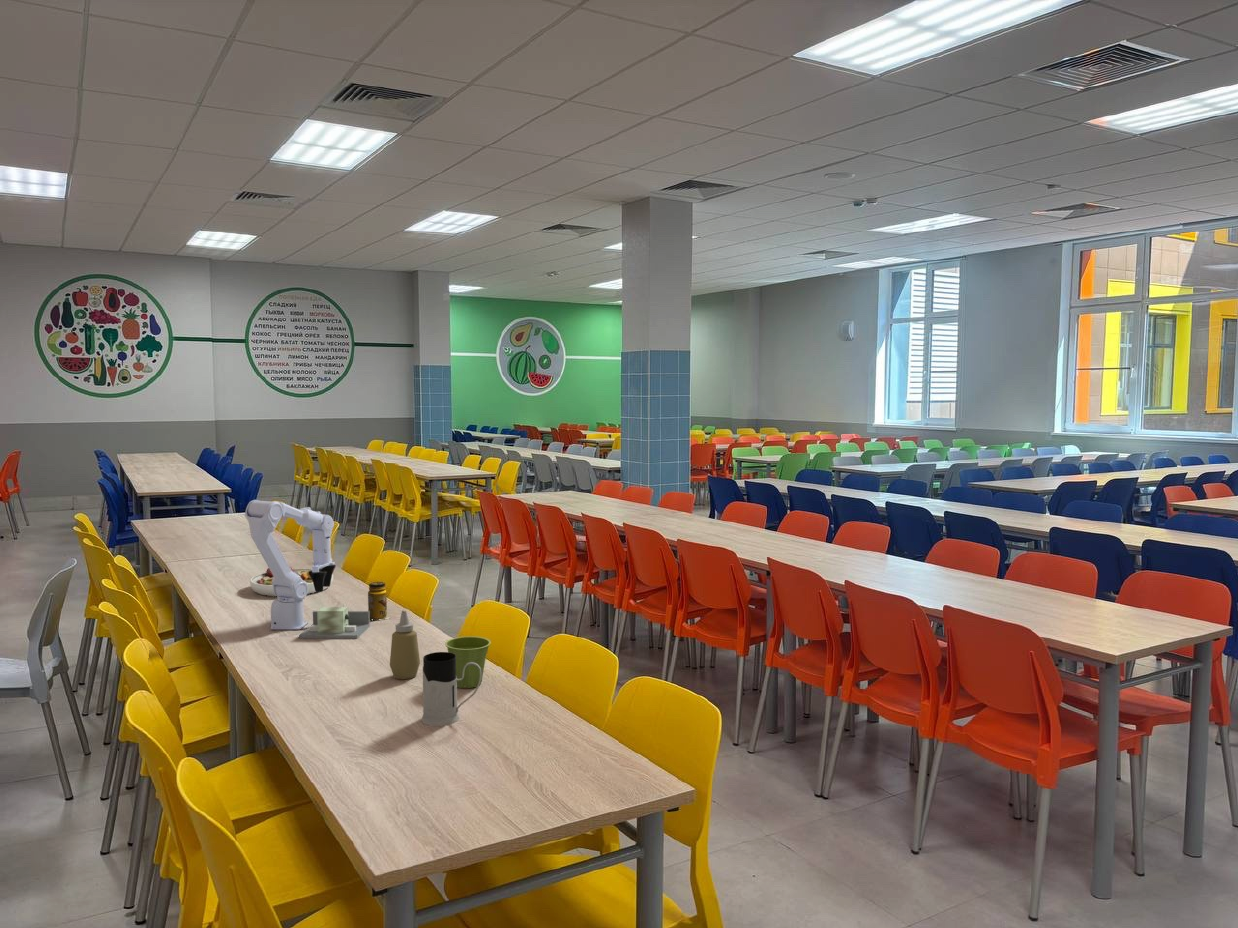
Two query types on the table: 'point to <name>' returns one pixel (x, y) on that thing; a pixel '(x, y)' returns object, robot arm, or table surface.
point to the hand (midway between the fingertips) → (322, 589)
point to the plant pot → (468, 658)
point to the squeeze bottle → (404, 650)
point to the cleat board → (353, 620)
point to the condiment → (377, 601)
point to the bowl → (263, 581)
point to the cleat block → (332, 619)
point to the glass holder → (441, 689)
